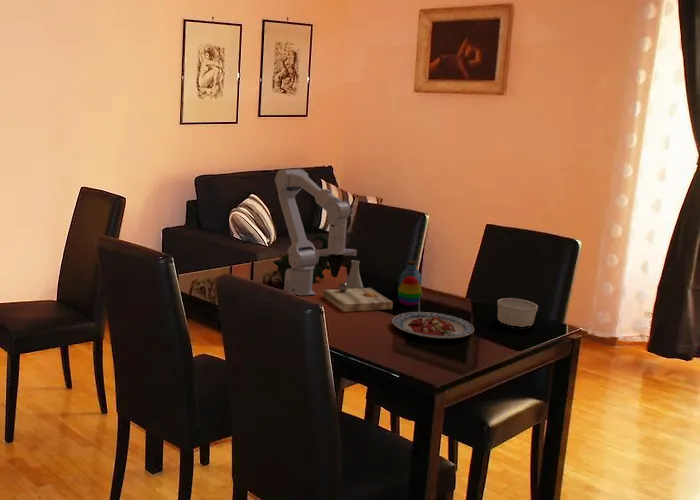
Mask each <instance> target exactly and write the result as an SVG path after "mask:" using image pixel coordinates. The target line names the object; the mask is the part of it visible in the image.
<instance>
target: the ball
mask: <svg viewBox="0 0 700 500" xmlns="http://www.w3.org/2000/svg"><path fill="white" fill-rule="evenodd" d="M338 289H340V291H343V292H344V291H346V290H347V289H348V285H347V284H346V283H345V282H343V281H342V282H340V283H339V285H338Z"/></svg>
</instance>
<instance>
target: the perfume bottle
mask: <svg viewBox="0 0 700 500" xmlns="http://www.w3.org/2000/svg"><path fill="white" fill-rule="evenodd" d="M406 267H407V268H405V269H404V270H402V272H401V274H400V275H399V277H398V287H397V290H398V289H399V286H400V284H401V282H402V281H403V280H404V279H405V278H406V277H408V276H413V277H415V278H416V279H417V280H418V282H419V283H420V286H422V285H421V284H422V275H421V273H420V271H419V269H416V268H417V261H416V260H413V259H412V260H411V259H409V260H407V263H406Z"/></svg>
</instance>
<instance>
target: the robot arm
mask: <svg viewBox="0 0 700 500" xmlns="http://www.w3.org/2000/svg"><path fill="white" fill-rule="evenodd" d="M274 177H275V178H274V182H275V186H276V189H277V195H278V196H277V197H278V199H279V203H280V207H281V210H282V213H283V217H284V222H285V224H286V227H287V231H288V235H289V238H290V241H291V244H290V245H289V246H288V248H287V254H289V263H290V265H291V269H287V270H286V272H285V283H284V284H283V285H284V287H283V291H284V292H286V291H287V292H289V293H292V294H295V295H298V296H315V295H317V293H316V292H315V291H314V290H313V282H312V281H313V268H315V265H316V264H317V263H318V261H319V257H320V256H326V258H327V260H328V262H327V263H328V265H329V266H330V269H329V270H330V276H331V277H333V278H337V277H338V275H339V273H340V269H341V267H342V265H343V264H344V262H346V261H345V260H346V257H345V256H352V257H357V255H358V254H357V252H358V251H357V249H355V248H346V239H347V238H346V237H347V225H348V223H347V222H348V218H349V217H350V216H351V214H352V206H351V204H349V202H348V201H346V200H341V199H340V198H339V197H337V196H335V194H333V193H332V192H331V189H326V188H323V189H322V188H321V187H320V186H318V185H317V183H316V182H314V181H313V179H311V178H310V177H309V174H308V172H306V171H305V170H304V169H303V168H295V169H279V170H278V171H277V173H276V175H275V176H274ZM302 189H303V190H304V191H306V192H307V193H308V194H309V195H311V196H312V197H314V200H315V203H316V204H317V205H319V207H320V208H321V209H323V210H324V211H326V215H327V217H328V224H329V227H328V239H327V240H328V249H321V248H320V249H321V250H320V249H316V248H315V245H314V243H312V242H311V241H310V240H309V239H307V235H306V232H305V228H304V224H303V222H302V218H301V214H300V212H299V211H300V210H299V207H298V204H297V201H296V197H297V196H296V195H297V194H299V192H301V190H302ZM287 292H286V293H287Z"/></svg>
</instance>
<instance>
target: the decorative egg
mask: <svg viewBox="0 0 700 500" xmlns="http://www.w3.org/2000/svg"><path fill="white" fill-rule="evenodd" d="M398 286H399V285H398ZM421 286H422V285H421ZM421 286H420V283H419V282H418V280H417V279H416V278H415V277H413V276H408V277H406V278H405V279H404V280H403V281H402V282H401V284H400V286H399V289H398V288H397V298H398V300H399V303H400V304H401V305H403V306H408V307H414V306H417V305H418V304H419V302H420V300H421V297H422V287H421Z"/></svg>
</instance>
